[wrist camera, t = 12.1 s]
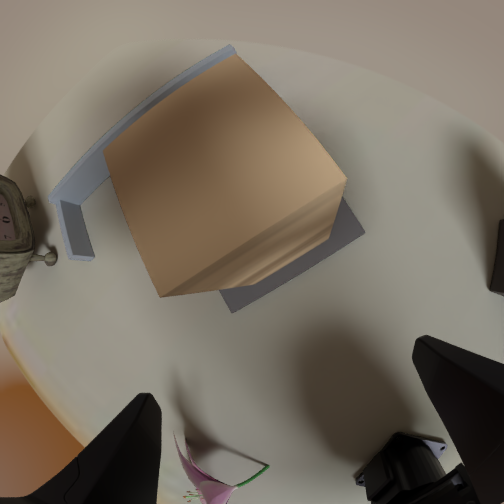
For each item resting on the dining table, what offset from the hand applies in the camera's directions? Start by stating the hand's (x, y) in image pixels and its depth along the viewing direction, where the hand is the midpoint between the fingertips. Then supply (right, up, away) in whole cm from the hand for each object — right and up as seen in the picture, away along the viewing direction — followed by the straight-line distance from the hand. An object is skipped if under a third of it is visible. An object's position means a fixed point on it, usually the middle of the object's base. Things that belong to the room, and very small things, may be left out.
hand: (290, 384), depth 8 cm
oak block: (0, +6, +12) cm, 13 cm away
